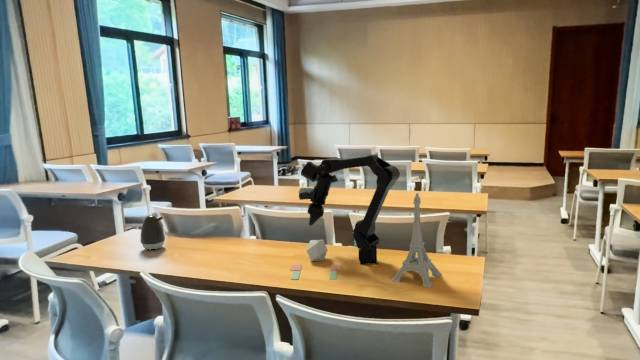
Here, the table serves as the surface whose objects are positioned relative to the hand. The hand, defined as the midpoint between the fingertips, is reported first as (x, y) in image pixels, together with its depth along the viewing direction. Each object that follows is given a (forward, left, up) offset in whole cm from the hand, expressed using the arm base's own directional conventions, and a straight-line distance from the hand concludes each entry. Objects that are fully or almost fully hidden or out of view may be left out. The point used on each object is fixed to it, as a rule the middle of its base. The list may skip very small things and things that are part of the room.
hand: (311, 220), depth 182 cm
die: (-3, +10, -14) cm, 17 cm away
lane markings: (-3, +23, -13) cm, 27 cm away
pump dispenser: (+71, -7, -14) cm, 73 cm away
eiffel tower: (-39, +29, -14) cm, 50 cm away
